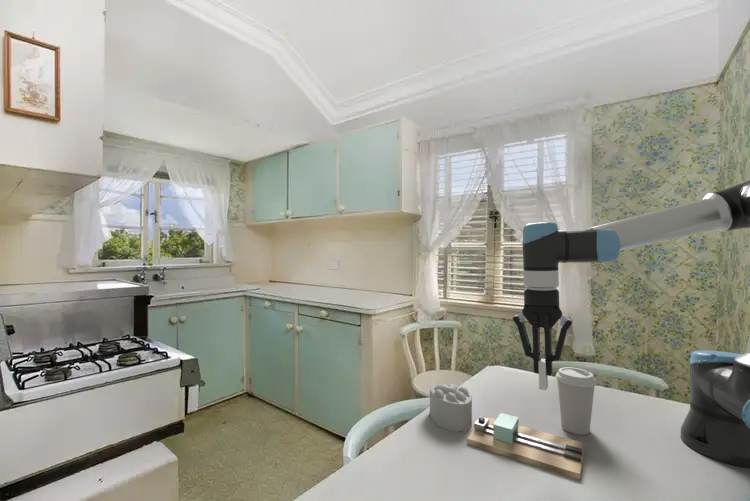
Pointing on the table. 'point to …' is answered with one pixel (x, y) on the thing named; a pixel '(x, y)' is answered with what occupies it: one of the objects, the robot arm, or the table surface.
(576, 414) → the coffee cup
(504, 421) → the mint sliding carriage
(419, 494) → the table surface
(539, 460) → the board
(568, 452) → the slide rail
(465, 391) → the lumpy-topped squat cylinder
